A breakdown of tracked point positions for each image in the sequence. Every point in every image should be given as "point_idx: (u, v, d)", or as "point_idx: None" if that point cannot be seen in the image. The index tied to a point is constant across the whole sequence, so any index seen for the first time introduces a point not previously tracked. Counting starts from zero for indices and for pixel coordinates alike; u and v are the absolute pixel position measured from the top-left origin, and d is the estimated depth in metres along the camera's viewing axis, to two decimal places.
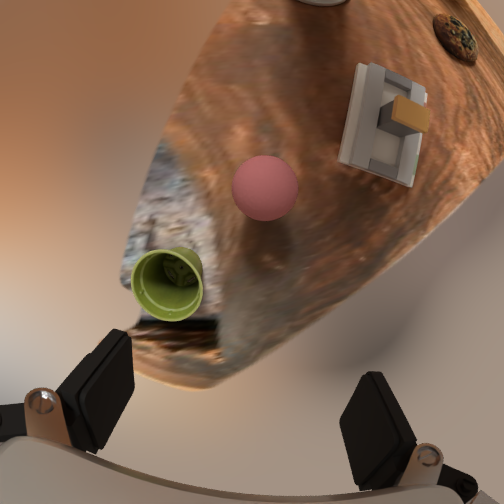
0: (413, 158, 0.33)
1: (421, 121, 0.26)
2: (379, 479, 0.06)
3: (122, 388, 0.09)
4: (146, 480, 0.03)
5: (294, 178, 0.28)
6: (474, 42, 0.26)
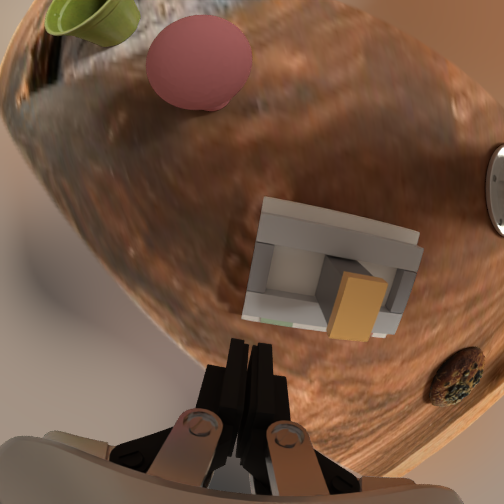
0: (284, 318, 0.25)
1: (347, 326, 0.19)
2: (245, 452, 0.07)
3: None
4: (146, 480, 0.03)
5: (211, 90, 0.14)
6: (453, 401, 0.29)
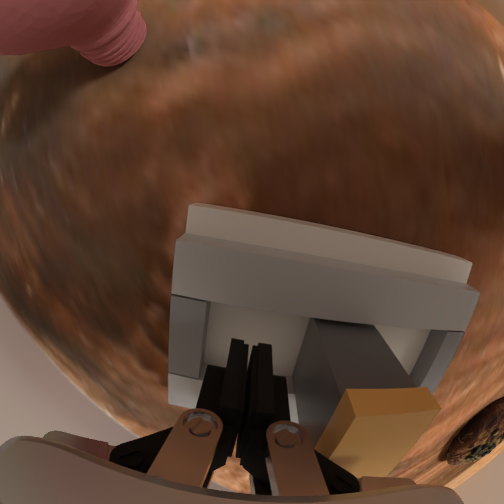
0: None
1: None
2: (245, 452, 0.07)
3: None
4: (146, 480, 0.03)
5: None
6: (474, 459, 0.17)
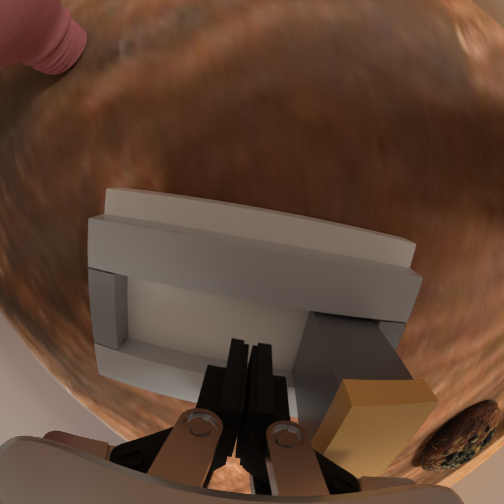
0: (157, 389, 0.14)
1: None
2: (245, 452, 0.07)
3: None
4: (146, 480, 0.03)
5: None
6: (452, 466, 0.17)
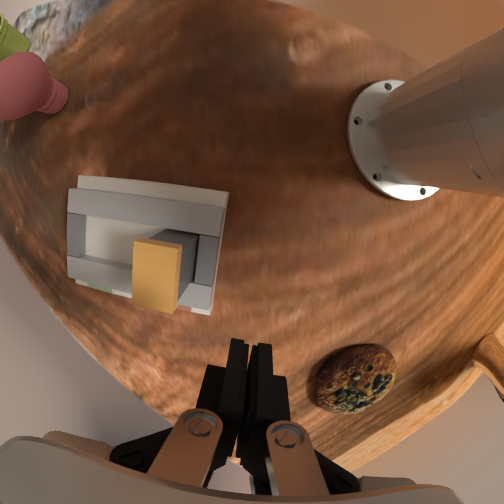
0: (95, 281, 0.25)
1: (145, 293, 0.19)
2: (245, 452, 0.07)
3: None
4: (146, 480, 0.03)
5: (7, 107, 0.14)
6: (351, 410, 0.29)
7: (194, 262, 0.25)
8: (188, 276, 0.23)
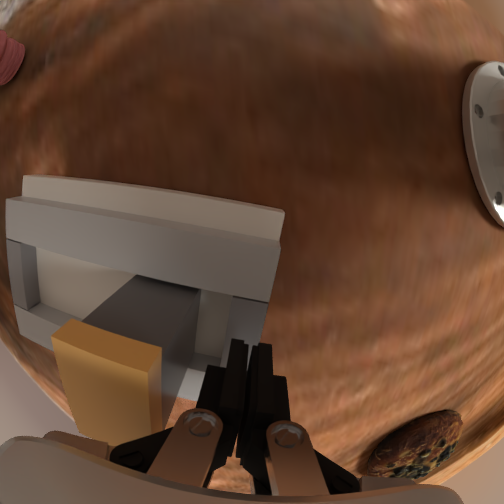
0: None
1: (97, 427, 0.07)
2: (245, 452, 0.07)
3: None
4: (146, 480, 0.03)
5: None
6: None
7: (193, 335, 0.13)
8: (182, 369, 0.11)
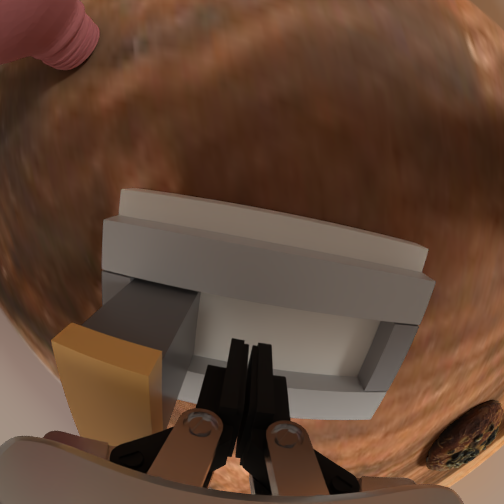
0: None
1: (97, 430, 0.07)
2: (245, 452, 0.07)
3: None
4: (146, 480, 0.03)
5: None
6: (456, 465, 0.17)
7: (192, 338, 0.13)
8: (182, 372, 0.11)
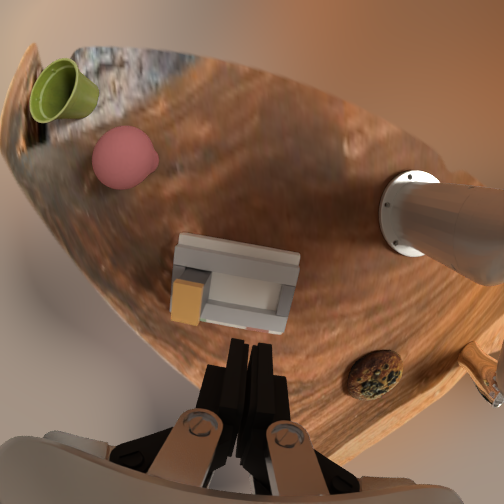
0: None
1: (180, 313, 0.31)
2: (245, 452, 0.07)
3: None
4: (146, 480, 0.03)
5: (126, 183, 0.26)
6: (371, 396, 0.41)
7: (208, 289, 0.37)
8: (205, 300, 0.35)
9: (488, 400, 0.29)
